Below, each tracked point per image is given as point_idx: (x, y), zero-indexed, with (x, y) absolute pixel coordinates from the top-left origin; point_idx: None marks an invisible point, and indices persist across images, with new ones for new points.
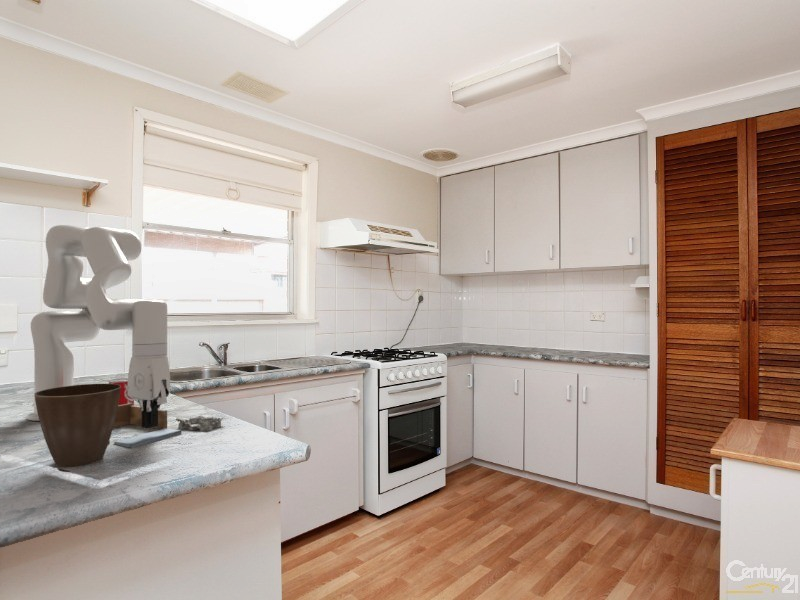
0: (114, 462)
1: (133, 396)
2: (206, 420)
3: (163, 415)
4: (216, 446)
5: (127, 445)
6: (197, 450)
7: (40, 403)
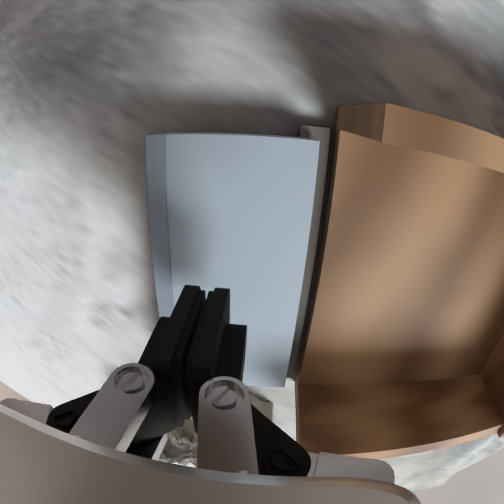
0: (114, 23)
1: (261, 495)
2: (185, 450)
3: (302, 437)
4: (23, 314)
5: (187, 133)
6: (18, 268)
7: None
